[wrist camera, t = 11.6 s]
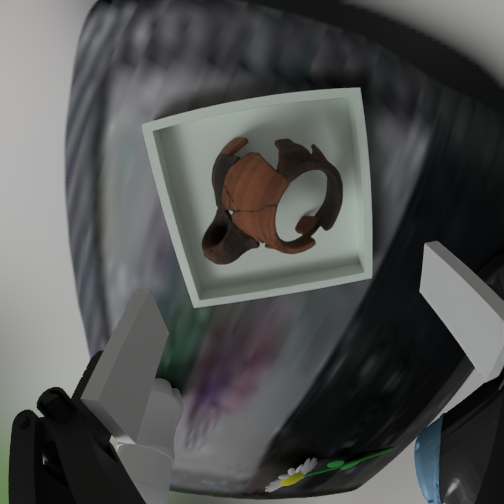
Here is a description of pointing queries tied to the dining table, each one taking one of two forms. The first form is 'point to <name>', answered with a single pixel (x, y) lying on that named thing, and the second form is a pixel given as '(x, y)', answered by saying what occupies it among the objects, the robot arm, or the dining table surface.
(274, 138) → the tray
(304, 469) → the decorative flower
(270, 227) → the broken clay pot
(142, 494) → the water bottle
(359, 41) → the dining table surface
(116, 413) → the robot arm
